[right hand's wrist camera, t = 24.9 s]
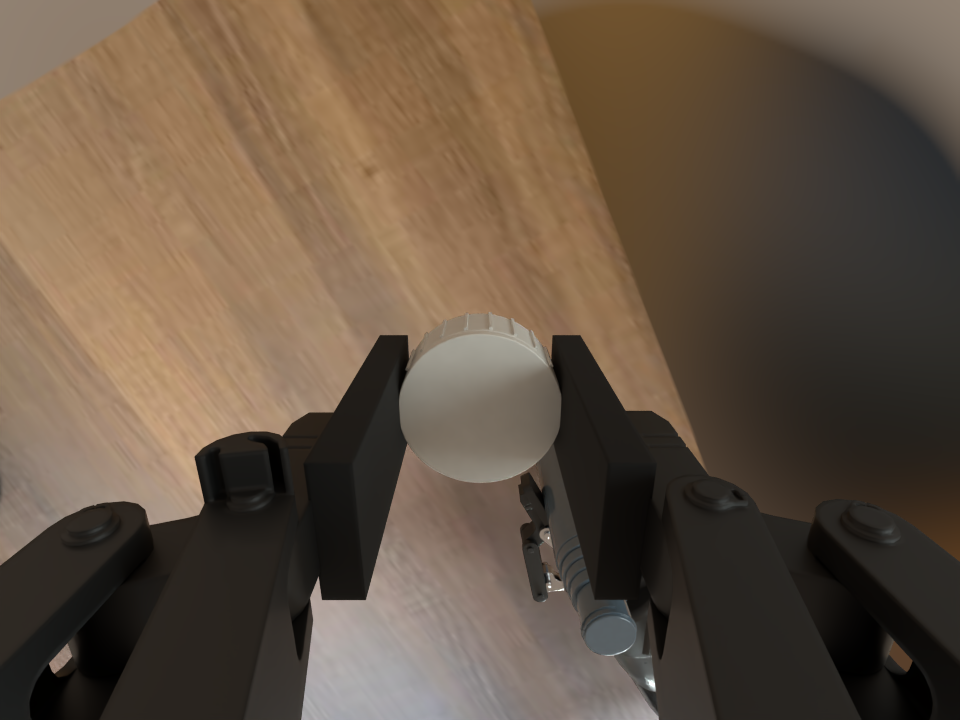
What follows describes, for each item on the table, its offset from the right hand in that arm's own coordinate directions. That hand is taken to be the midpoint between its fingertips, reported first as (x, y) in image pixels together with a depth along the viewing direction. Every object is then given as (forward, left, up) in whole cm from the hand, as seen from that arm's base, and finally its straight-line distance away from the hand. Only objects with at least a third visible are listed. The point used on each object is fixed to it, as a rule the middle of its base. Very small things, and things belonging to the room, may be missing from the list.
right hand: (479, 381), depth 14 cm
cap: (0, 0, +2) cm, 2 cm away
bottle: (+19, 0, -27) cm, 33 cm away
